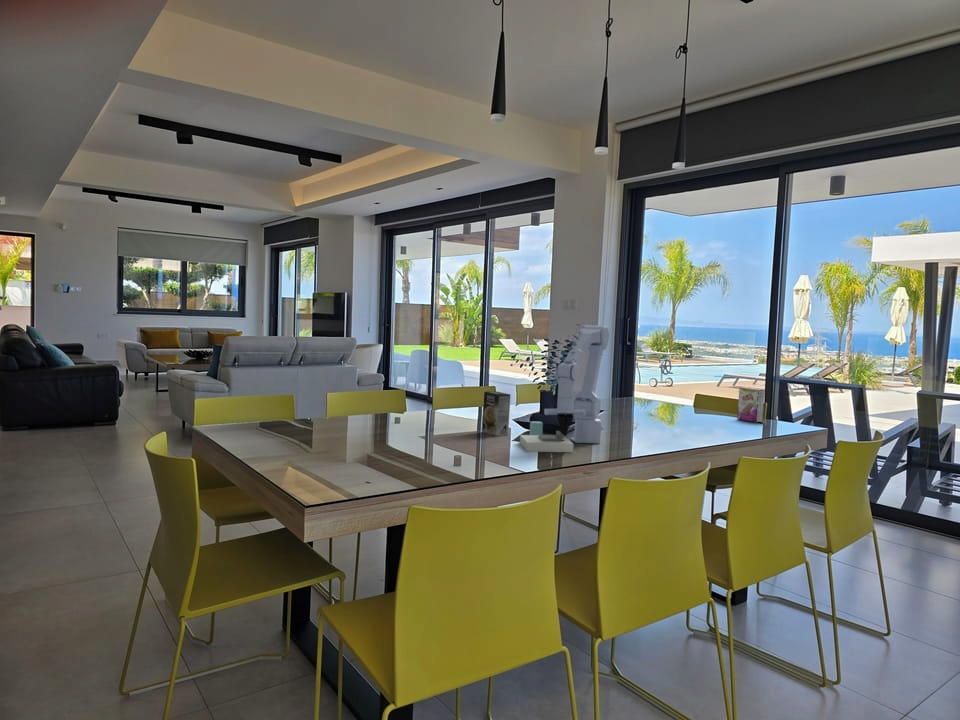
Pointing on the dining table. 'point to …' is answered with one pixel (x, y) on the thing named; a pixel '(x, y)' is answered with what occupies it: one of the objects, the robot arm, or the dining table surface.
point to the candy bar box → (751, 404)
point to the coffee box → (496, 413)
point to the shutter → (552, 437)
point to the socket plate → (545, 444)
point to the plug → (536, 428)
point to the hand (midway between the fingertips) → (563, 435)
